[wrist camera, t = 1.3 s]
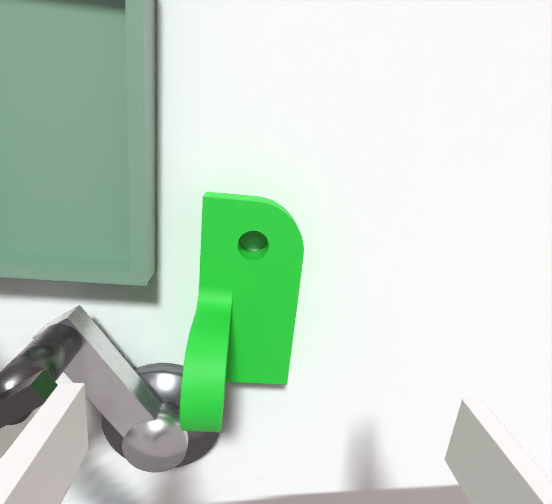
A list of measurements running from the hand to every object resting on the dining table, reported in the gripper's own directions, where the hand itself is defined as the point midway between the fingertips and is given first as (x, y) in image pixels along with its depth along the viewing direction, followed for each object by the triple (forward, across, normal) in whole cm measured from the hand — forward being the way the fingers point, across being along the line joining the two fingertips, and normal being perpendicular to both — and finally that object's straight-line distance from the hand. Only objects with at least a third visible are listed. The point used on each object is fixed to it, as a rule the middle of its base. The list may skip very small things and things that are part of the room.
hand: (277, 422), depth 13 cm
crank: (+10, -9, -7) cm, 15 cm away
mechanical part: (+12, -1, 0) cm, 12 cm away
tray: (+12, -12, +9) cm, 19 cm away
